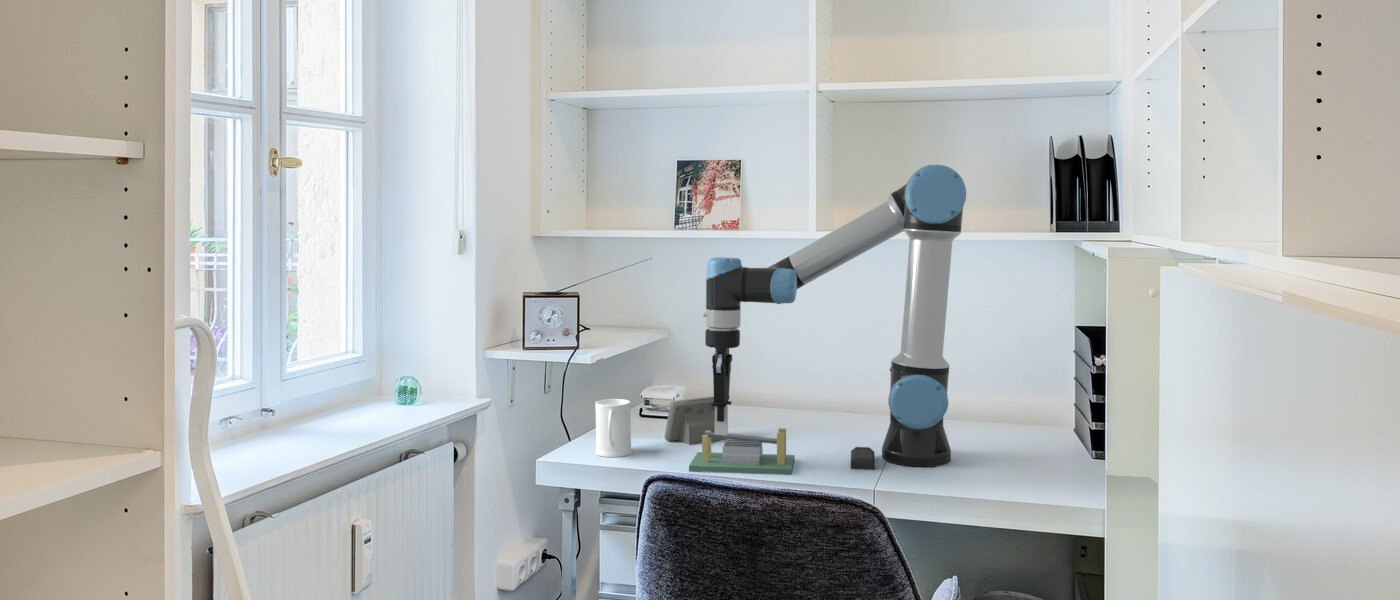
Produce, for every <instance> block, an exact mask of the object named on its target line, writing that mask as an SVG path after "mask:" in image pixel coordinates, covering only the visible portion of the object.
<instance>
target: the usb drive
mask: <svg viewBox="0 0 1400 600" xmlns="http://www.w3.org/2000/svg"><path fill="white" fill-rule="evenodd" d="M850 470H865V471H867V470H869V471H875V470H876V457H875V451H874V450H873V449H872V448H871V447H868V446H867V447H866V446H855V447H854V448H853V449H852V450H851V451H850Z"/></svg>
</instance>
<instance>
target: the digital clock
mask: <svg viewBox="0 0 1400 600" xmlns="http://www.w3.org/2000/svg"><path fill="white" fill-rule="evenodd" d="M713 401H714V395H713V396H712V395H711V396H703V397H695V398H685V399H678V400H673V401H671V403H670V404H669V409H668V414H667V419H666V424H665V425H666V427H665V432H664V439H665V441H667V442H677V441H679V442H681V443H684V444H686V445H688V444H689V445H697V444H702V435H704V433H705V431H711V432H714V430H715V406H712V403H713ZM711 441H712V442H717V441H721V438H712V437H711Z"/></svg>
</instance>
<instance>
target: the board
mask: <svg viewBox="0 0 1400 600" xmlns="http://www.w3.org/2000/svg"><path fill="white" fill-rule="evenodd" d="M705 432H711V431H705ZM776 439H777V444H776V453H775V454H774V453H773V454H772V453H770V454H769V453H763V457H762V459H761V462H760V465H759V466H754V465H724V464H722V455H723V452H712V442H711V437H708V435H702V443H701V450H702V451H697V452H696V454H695V456H694V457H693V459H692V460H691V462H690V463H689V465H688V472H698V473H700V472H702V473H731V474H732V473H733V474H758V475H759V474H760V475H761V474H763V475H783V476H787V475H789V476H791V475H793V469H794V465H795V461H796V460H795V459H796V458H795V454H787V428H786V427H778V432H776Z"/></svg>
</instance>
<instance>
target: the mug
mask: <svg viewBox="0 0 1400 600" xmlns="http://www.w3.org/2000/svg"><path fill="white" fill-rule="evenodd" d="M631 423H632V421H631V401H630V400H628V399H624V398H623V399H622V398H608V399H605V398H604V399H601V400H598V401H597V400H596V401H595V452H594V453H595V455H596V456H598V457H603V458H621V457H626V456H629V455H632V453H633V449H632V434H631V433H632V431H631V430H632V425H631Z"/></svg>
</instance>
